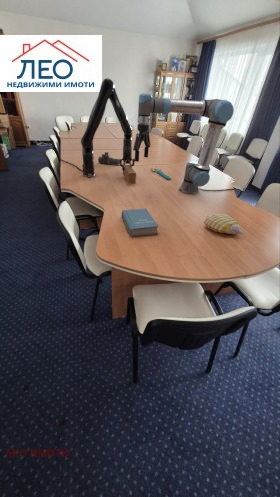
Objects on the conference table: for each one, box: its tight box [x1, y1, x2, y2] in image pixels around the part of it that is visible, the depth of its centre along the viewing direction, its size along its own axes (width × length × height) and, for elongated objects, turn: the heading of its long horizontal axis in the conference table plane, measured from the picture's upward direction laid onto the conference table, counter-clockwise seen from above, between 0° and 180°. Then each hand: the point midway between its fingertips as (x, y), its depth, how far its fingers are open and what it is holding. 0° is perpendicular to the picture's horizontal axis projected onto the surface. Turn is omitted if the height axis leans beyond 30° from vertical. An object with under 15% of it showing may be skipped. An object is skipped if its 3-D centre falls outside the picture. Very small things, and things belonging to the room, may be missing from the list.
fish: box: [203, 213, 245, 235], centre depth 133 cm, size 25×8×20 cm
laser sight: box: [97, 151, 120, 166], centre depth 229 cm, size 10×22×10 cm, turn 78°
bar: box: [122, 164, 137, 184], centre depth 193 cm, size 23×6×9 cm, turn 17°
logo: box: [150, 167, 172, 180], centre depth 216 cm, size 34×10×1 cm, turn 16°
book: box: [121, 207, 159, 237], centre depth 133 cm, size 23×16×5 cm
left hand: (126, 170), depth 199 cm, fingers closed on bar, 6 cm apart
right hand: (141, 159), depth 150 cm, fingers open, 13 cm apart
